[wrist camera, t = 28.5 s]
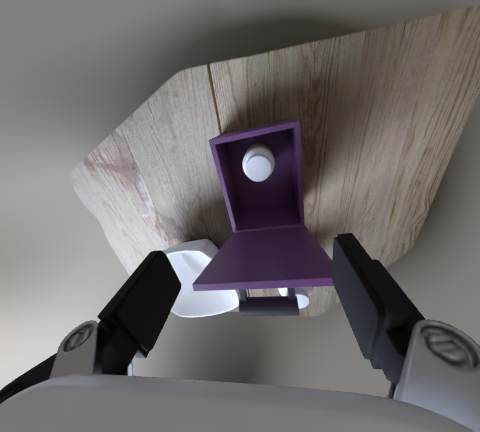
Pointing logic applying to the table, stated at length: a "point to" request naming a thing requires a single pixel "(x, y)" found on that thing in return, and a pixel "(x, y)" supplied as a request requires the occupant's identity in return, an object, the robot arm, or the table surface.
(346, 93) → the table surface
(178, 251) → the bowl
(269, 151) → the supplement bottle
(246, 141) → the purple box
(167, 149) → the table surface
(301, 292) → the pill bottle
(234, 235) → the lid
